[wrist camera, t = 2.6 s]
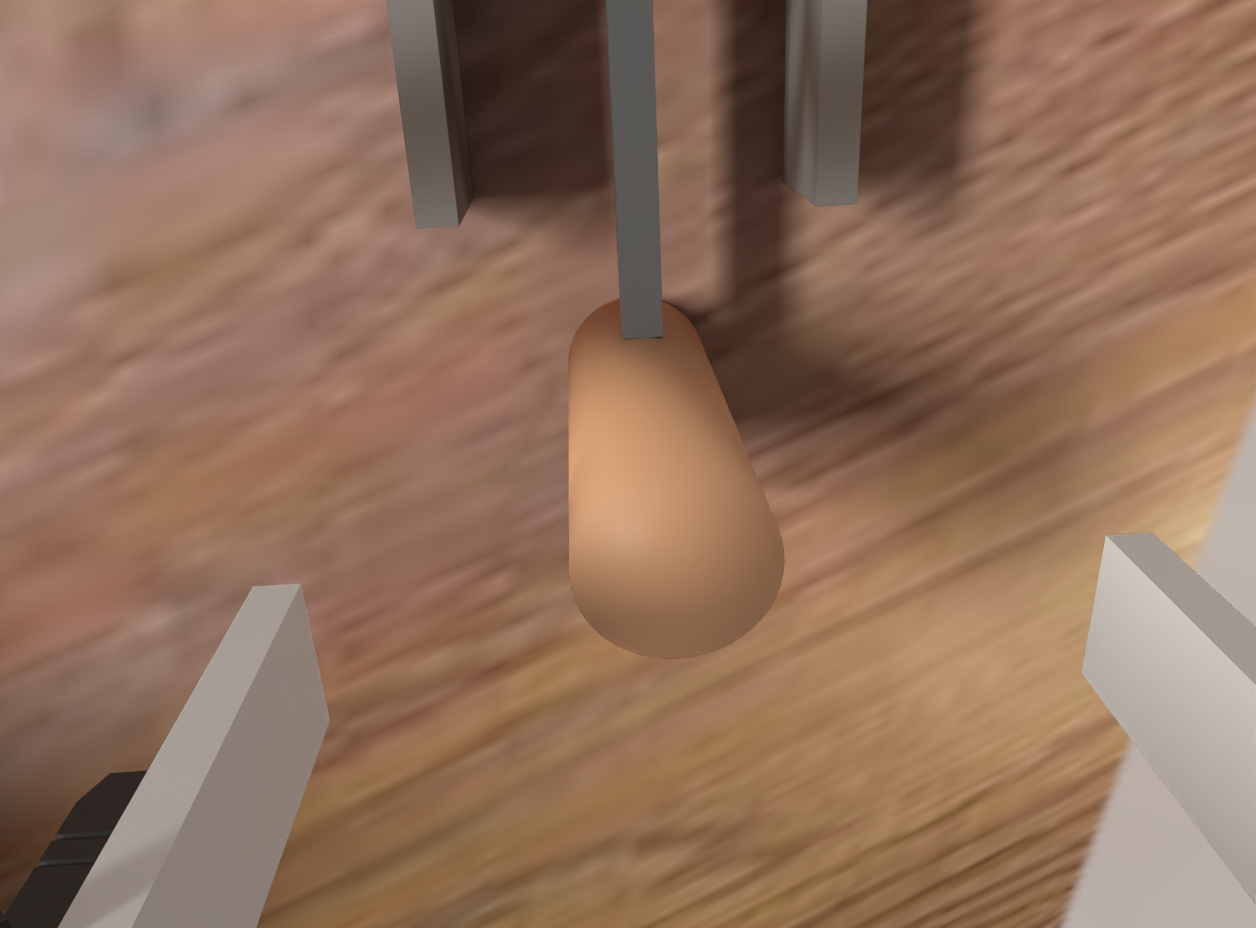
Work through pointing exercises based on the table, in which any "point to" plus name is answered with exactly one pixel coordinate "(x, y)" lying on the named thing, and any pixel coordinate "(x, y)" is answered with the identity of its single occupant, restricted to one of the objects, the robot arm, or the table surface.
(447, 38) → the shelf lane
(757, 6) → the table surface
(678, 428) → the push rod with block
